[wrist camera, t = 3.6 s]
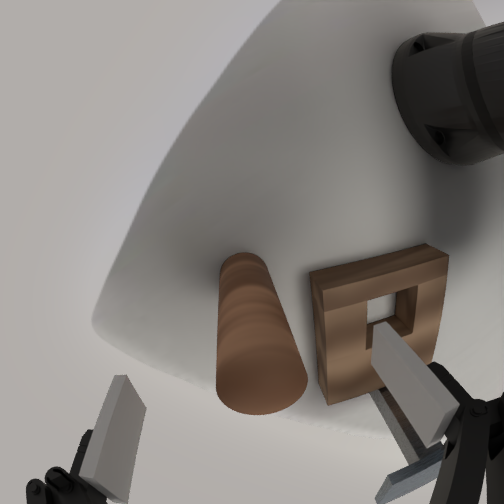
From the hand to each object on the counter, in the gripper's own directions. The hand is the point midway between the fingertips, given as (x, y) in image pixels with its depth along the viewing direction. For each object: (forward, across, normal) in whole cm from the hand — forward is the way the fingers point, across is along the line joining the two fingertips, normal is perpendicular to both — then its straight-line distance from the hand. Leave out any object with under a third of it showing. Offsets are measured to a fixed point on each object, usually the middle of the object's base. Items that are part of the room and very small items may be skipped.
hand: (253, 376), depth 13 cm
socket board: (+13, +14, -9) cm, 21 cm away
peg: (+13, 0, 0) cm, 13 cm away
